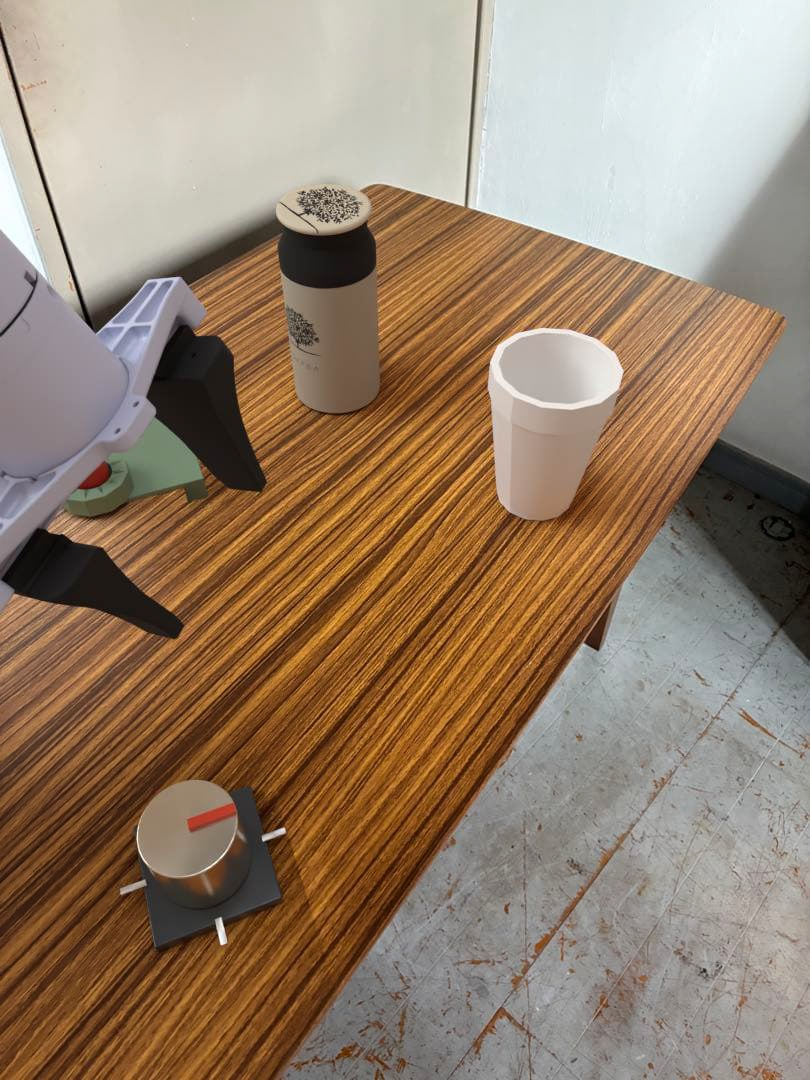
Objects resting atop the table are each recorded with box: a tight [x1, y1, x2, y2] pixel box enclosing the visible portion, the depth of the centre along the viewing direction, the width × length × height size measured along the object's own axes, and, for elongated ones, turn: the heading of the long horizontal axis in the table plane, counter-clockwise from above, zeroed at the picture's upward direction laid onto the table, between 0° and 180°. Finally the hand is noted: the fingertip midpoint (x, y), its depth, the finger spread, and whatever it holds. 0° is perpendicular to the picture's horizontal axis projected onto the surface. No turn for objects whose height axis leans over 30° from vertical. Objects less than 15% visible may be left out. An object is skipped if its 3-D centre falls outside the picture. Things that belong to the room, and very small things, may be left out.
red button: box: [77, 461, 109, 490], centre depth 64 cm, size 3×3×2 cm
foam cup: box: [487, 327, 625, 522], centre depth 63 cm, size 10×9×13 cm
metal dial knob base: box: [119, 785, 287, 952], centre depth 47 cm, size 9×9×3 cm
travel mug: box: [275, 183, 381, 414], centre depth 70 cm, size 8×8×18 cm
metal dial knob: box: [136, 779, 251, 909], centre depth 44 cm, size 5×5×5 cm
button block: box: [62, 417, 209, 518], centre depth 67 cm, size 11×10×4 cm
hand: (208, 553), depth 36 cm, fingers open, 7 cm apart
